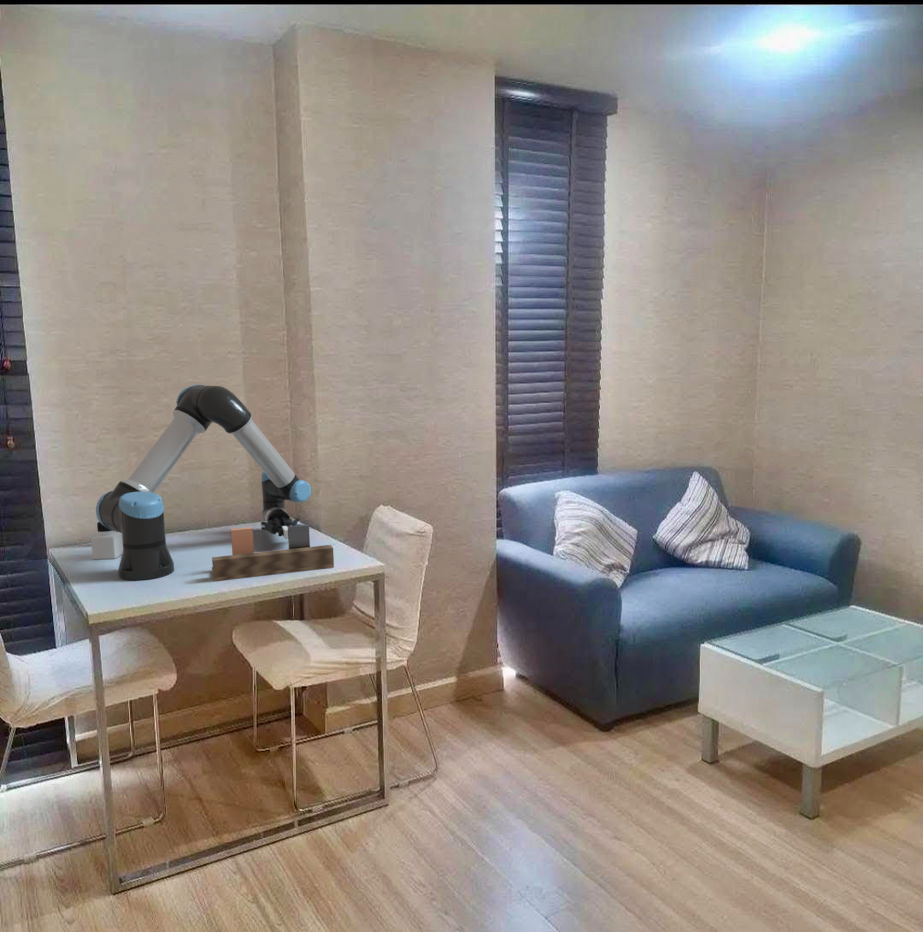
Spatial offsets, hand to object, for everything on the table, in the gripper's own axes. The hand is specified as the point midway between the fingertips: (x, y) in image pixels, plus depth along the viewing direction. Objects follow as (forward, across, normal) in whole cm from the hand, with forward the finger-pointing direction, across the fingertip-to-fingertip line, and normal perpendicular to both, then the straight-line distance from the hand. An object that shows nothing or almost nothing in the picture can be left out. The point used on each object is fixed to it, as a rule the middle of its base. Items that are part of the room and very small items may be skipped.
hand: (287, 534), depth 243 cm
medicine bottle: (-23, +54, -7) cm, 59 cm away
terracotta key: (+10, +14, -6) cm, 18 cm away
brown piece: (+14, +6, -7) cm, 16 cm away
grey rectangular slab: (+14, -2, -5) cm, 15 cm away
